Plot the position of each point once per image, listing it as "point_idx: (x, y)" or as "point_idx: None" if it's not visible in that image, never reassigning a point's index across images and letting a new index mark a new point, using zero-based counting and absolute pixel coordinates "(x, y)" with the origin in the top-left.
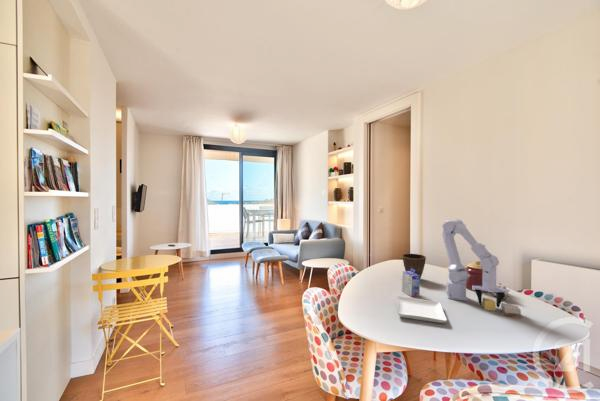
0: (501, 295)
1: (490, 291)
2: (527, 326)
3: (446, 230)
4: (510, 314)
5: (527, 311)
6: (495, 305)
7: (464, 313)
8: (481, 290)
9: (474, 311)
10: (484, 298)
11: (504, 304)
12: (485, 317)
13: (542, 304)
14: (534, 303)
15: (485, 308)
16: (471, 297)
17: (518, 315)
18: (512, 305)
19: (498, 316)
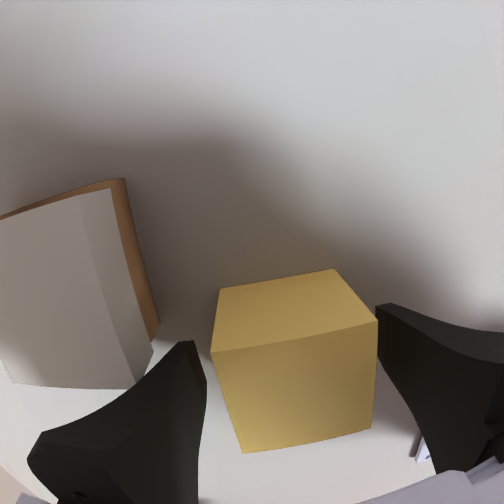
0: (67, 455)
1: (420, 490)
2: (6, 55)
3: None
4: (67, 193)
5: (19, 394)
6: (215, 322)
7: (488, 57)
8: (481, 469)
9: (435, 138)
10: (355, 414)
11: (95, 346)
12: (338, 17)
13: (25, 482)
14: (47, 489)
15: (330, 273)
16: (378, 464)
17: (12, 213)
18: (26, 351)
19: (198, 115)
